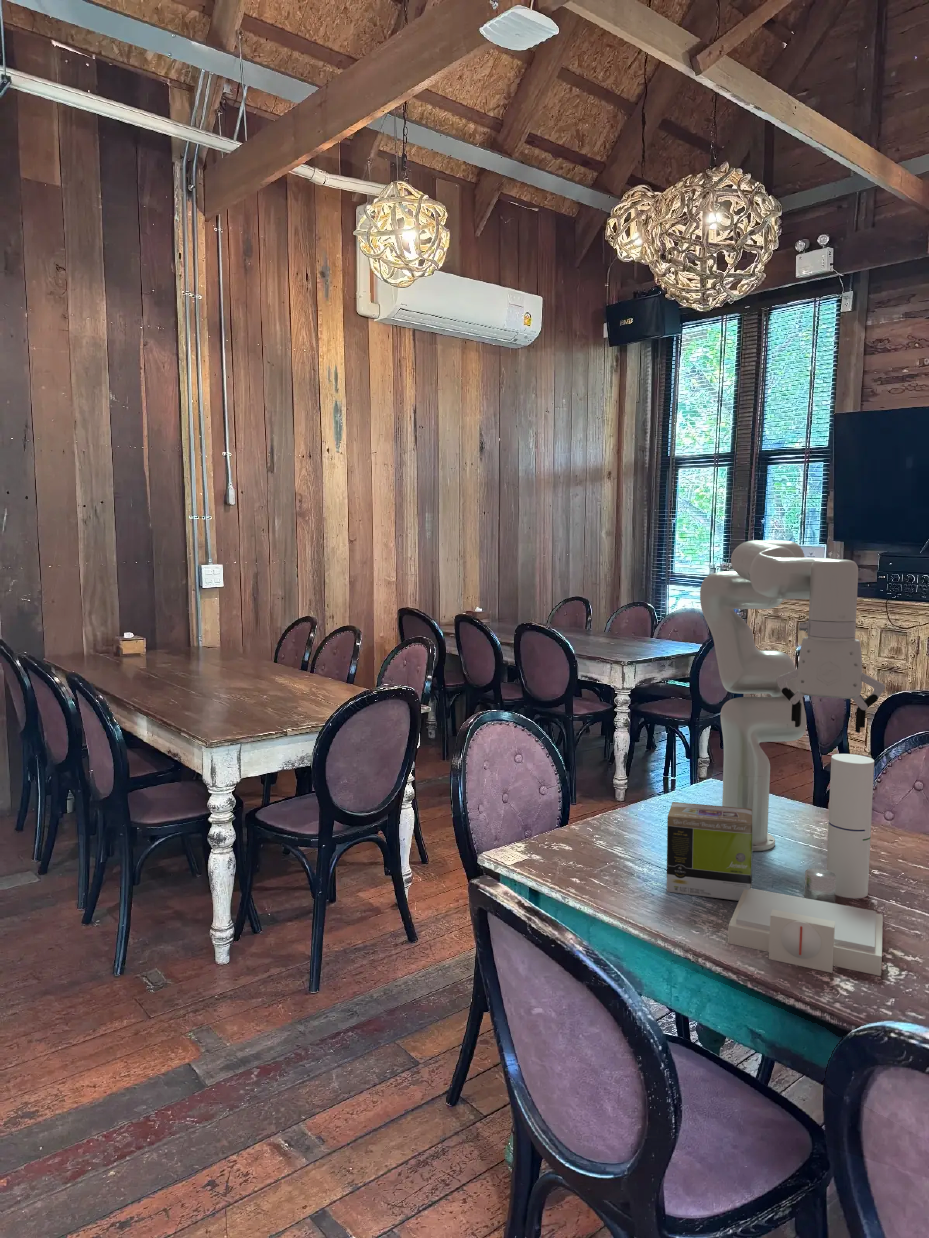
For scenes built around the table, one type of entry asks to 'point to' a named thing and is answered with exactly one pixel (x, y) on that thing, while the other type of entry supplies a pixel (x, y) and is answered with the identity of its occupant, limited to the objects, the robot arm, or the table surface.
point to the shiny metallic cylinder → (820, 885)
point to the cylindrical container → (850, 823)
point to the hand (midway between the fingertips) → (827, 728)
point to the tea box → (709, 850)
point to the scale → (808, 931)
